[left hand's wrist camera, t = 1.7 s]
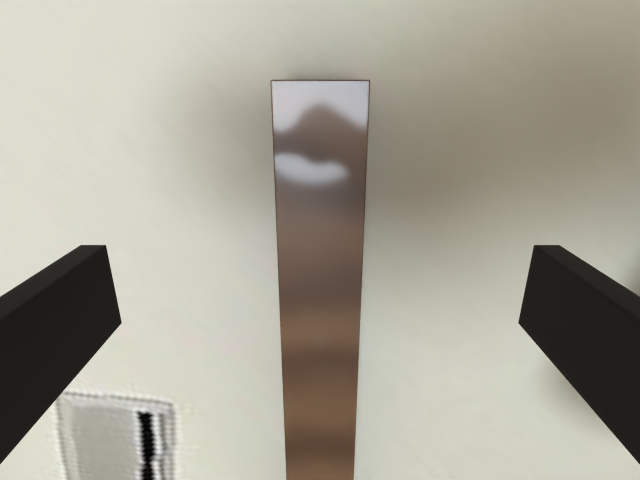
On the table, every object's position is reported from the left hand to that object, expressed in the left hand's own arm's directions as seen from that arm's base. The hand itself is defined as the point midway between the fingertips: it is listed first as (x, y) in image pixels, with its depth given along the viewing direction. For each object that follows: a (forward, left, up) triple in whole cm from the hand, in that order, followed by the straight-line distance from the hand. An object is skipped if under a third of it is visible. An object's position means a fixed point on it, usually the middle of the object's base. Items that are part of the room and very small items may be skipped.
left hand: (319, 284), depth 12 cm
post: (-2, +21, -21) cm, 29 cm away
